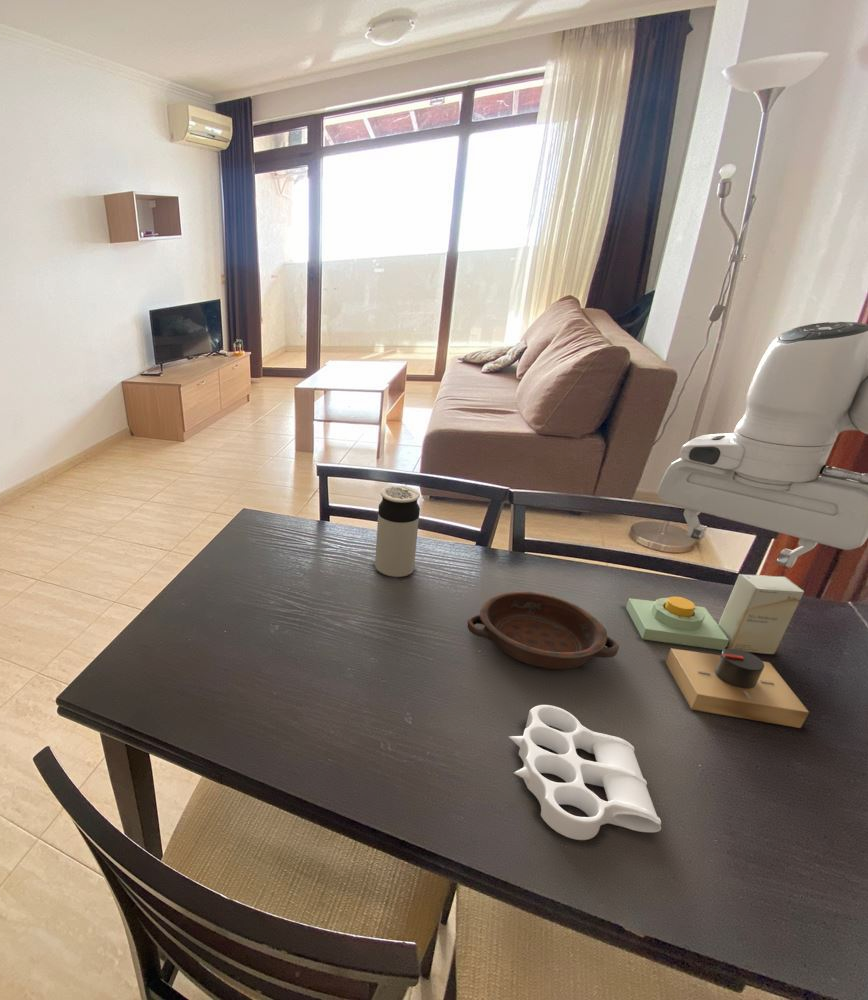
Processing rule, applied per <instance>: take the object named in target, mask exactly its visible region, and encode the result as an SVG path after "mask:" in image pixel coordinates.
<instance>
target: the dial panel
mask: <svg viewBox="0 0 868 1000" xmlns="http://www.w3.org/2000/svg"><path fill="white" fill-rule="evenodd" d="M720 657H721V654H713V653H706V652H698V651H693V650H684V649H679V648H678V649H677V648H670V650H669V653H668V655H667V658H666V661H665V665H666V666H667V668H668V670H669V672H670V674H671V675H672V677H673V679H674V681H675V682H676V685H677V686H678V688H679V689H680V691H681V693H682V695H683V697H684V698H685V700H686V702H687V704H688V706H689V708H690V710H694V711H697V712H698V711H699V712H704V713H711V714H715V715H721V716H726V717H733V718H739V719H743V720H744V719H746V720H751V721H757V722H762V723H768V724H773V725H774V724H775V725H780V726H786V727H791V728H797V729H802V727H803V725H804V723H805V721H806V719H807V717H809V713H810V711H809V710H808V709H807V707H806V706H805V705H804V703H802V701H801V700H800V699H799V697H798V696H797V695H796V694H795V692H794V691H793V689H791V687H790V686H789V685H788V683H787V682H786V681H785V680H784V678H783V677H782V676H781V675H780V673H778V671H777V670H776V668H775V667H774V666H773V665H772V663H771V662H769V661H763V660H762V662H763V663H764V668H763V671H762V673H761V675H760V677H759V679H758V681H757V683H756V685H755V687H753V688H739V687H736V686H733V685H730V684H728V683H726V682H724V681H723V680H721V679H720V678H719V677H718V676H717V675H716V674H715V668H716V666H717V664H718V661H719V659H720Z"/></svg>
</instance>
